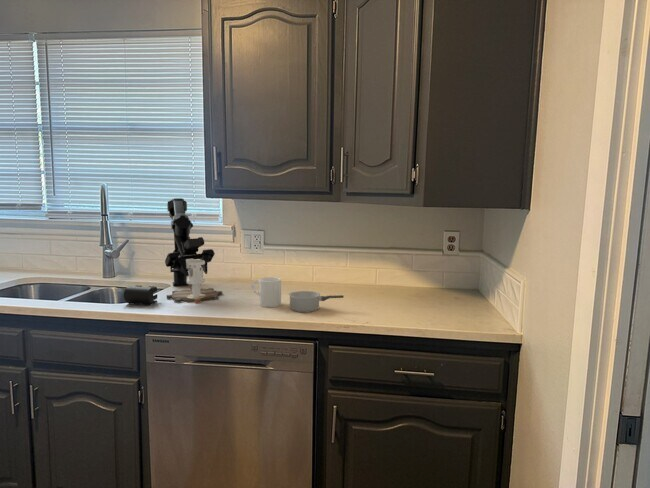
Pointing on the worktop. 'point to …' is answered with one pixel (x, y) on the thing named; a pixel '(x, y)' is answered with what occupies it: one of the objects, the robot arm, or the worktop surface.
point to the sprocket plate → (187, 297)
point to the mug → (269, 291)
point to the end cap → (140, 295)
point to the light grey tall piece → (195, 275)
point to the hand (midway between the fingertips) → (197, 274)
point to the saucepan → (307, 300)
